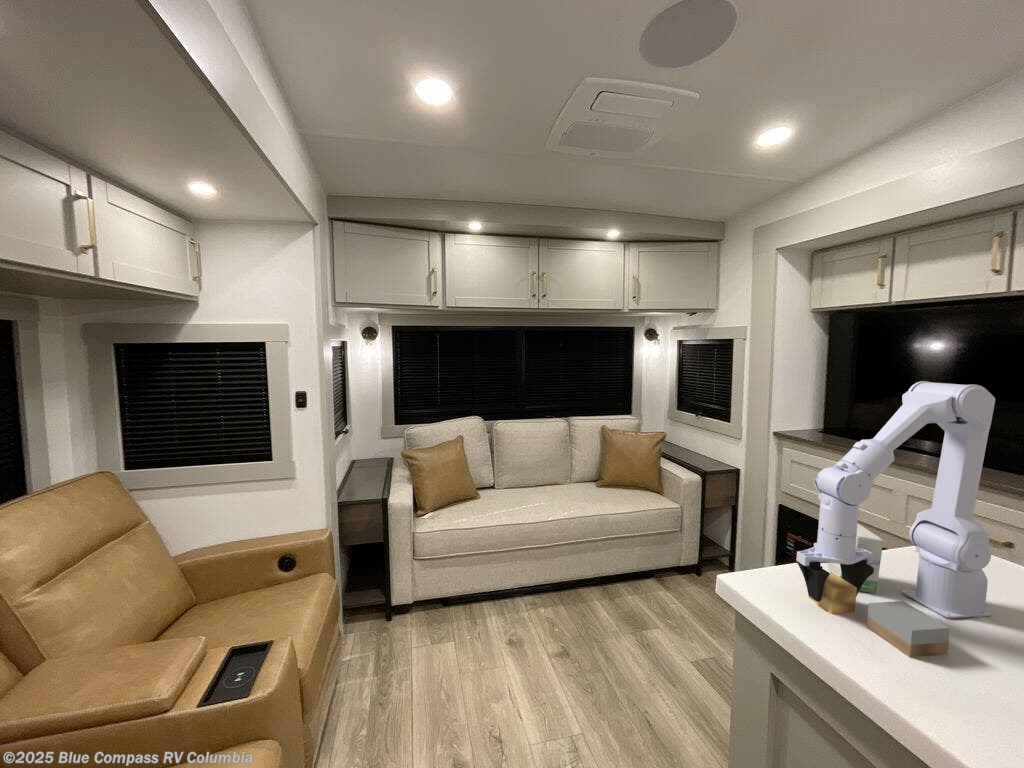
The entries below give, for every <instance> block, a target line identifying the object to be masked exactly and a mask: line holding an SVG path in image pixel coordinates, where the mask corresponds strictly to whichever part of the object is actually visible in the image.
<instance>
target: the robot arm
mask: <svg viewBox="0 0 1024 768" xmlns="http://www.w3.org/2000/svg"><path fill="white" fill-rule="evenodd" d="M901 402H902V405H900V407H899V408H898V409H897V411H895V413H894V414H893V415H891V418H889V420H888V421H887V422H886V423H885V425H883V426H882V428H881V429H880V430H879V431H878V432H877V433H876V435H875V436H874V437H873V438H870V439H861V440H860V441H856V442H855V444H854V445H853V444H852V447H851V449H850V450H849V451H848V452H847V453H846V454H844V456H843V457H842V458H841V459H840V460H839V461H837V462H836V463H835V464H834V465H833V466H829V467H825V468H823V469H821V470H820V471H818V473H817V475H816V478H813V484H814V487H815V489H816V490H817V493H818V496H817V497H818V498H817V499H818V500H819V501H820V503H819V514H818V515H819V516H818V526H817V527H818V529H817V539H816V542H814V543H813V547H810V548H808V549H804V550H799V551H796V561H795V562H796V564H797V565H798V568H799V569H800V571H801V573H802V576H803V578H804V582H805V586H806V589H807V590H806V591H807V593H808V594H807V595H808V597H809V596H810V597H811V598H812V599H814V600H815V601H817V602H820V601H821V599H822V594H823V587H824V584H825V581H826V579H827V578H828V576H829V575H830V573H831V572H830V571H827V570H826V569H824V568H823V566H822V565H821V564H828V563H838V564H840V567H841V574H842V579H843V580H845V581H847V582H848V583H850V584H852V585H853V586H855V587H857V592H856V597H857V596H858V594H859V592H860V591H859V590H860V588H861V586H862V585H863V583H864V582H865V581H866V579H867V578H868V577H869V576H870V575H872V574H873V573H874V568H873V567H872V566H870V565H868V564H867V563H873V555H874V554H873V553H872V552H870V551H867V550H865V549H857V548H856V537H857V525H858V524H859V513H860V504H862V503H864V501H866V500H868V499H869V497H870V496H871V490H872V486H874V483H875V479H877V477H879V476H880V475H881V473H883V472H884V471H885V470H886V469H887V468H888V467H889V466H890V465H891V464H892V463H893V462H894V461H895V454H894V451H895V450H896V449H897V448H898V447H900V446H901V445H902V444H903V443H904V442H906V441H907V440H908V439H910V438H911V437H912V436H913V435H915V434H916V433H917V432H918V431H919V430H921V429H922V428H923V427H925V426H926V425H928V424H937V425H938V426H939V427H940V428H941V429H942V430H943V431H944V436H943V442H942V446H941V452H940V453H941V454H940V457H939V463H938V468H937V476H936V480H935V487H934V490H933V491H934V493H933V497H932V498H933V499H932V502H931V503H932V504H931V507H930V508H927V509H925V510H922V511H920V512H917V513H916V518H915V521H914V522H913V524H912V525H911V527H910V529H909V531H908V538H909V540H910V542H911V545H913V546H914V547H915V552H916V553H918V554H919V556H918V565H917V575H916V586H915V589H913V590H903V591H902V594H903V595H905V596H907V597H909V598H910V599H912V600H914V601H916V602H917V603H919V604H921V605H923V606H925V607H927V608H928V609H930V610H932V611H934V612H936V613H938V614H940V615H941V616H943V617H944V618H947V619H960V618H963V619H964V618H976V617H990V616H991V612H990V611H988V610H985V609H986V604H987V603H986V601H987V594H988V593H987V592H988V583H989V582H988V581H989V580H988V578H987V574H985V572H984V570H983V569H984V568H985V567H987V566H988V565H989V563H991V562H990V561H991V559H992V550H991V547H990V533H989V532H988V531H987V530H986V529H985V528H984V527H983V526H982V525H981V523H979V522H978V521H977V520H976V519H975V518H974V515H975V508H976V502H977V496H978V492H979V488H980V480H981V475H982V470H983V464H984V459H985V455H986V454H985V453H986V448H987V443H988V438H989V432H990V429H991V425H992V420H993V415H994V409H995V405H996V404H995V403H996V398H995V396H994V395H993V394H991V393H990V391H988V389H987V388H985V387H983V386H982V385H979V384H958V383H957V384H956V383H946V382H945V383H944V382H931V381H926V380H921V381H918V382H915V383H914V384H912V385H910V387H909V388H908V391H905V393H903V394H902V396H901Z"/></svg>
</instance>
